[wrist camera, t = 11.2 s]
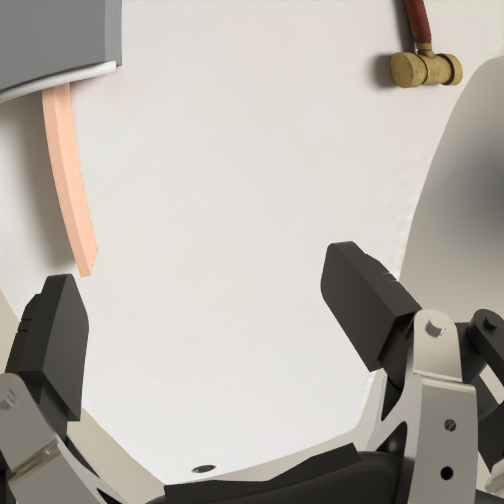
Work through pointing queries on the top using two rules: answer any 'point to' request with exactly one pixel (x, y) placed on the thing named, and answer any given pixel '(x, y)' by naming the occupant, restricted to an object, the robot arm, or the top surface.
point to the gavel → (423, 56)
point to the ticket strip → (68, 175)
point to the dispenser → (56, 43)
